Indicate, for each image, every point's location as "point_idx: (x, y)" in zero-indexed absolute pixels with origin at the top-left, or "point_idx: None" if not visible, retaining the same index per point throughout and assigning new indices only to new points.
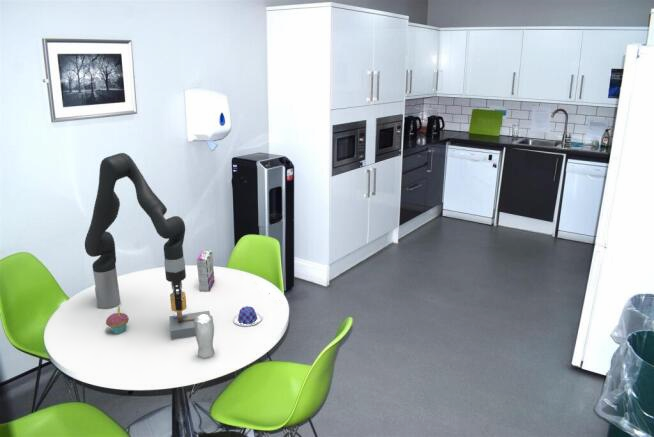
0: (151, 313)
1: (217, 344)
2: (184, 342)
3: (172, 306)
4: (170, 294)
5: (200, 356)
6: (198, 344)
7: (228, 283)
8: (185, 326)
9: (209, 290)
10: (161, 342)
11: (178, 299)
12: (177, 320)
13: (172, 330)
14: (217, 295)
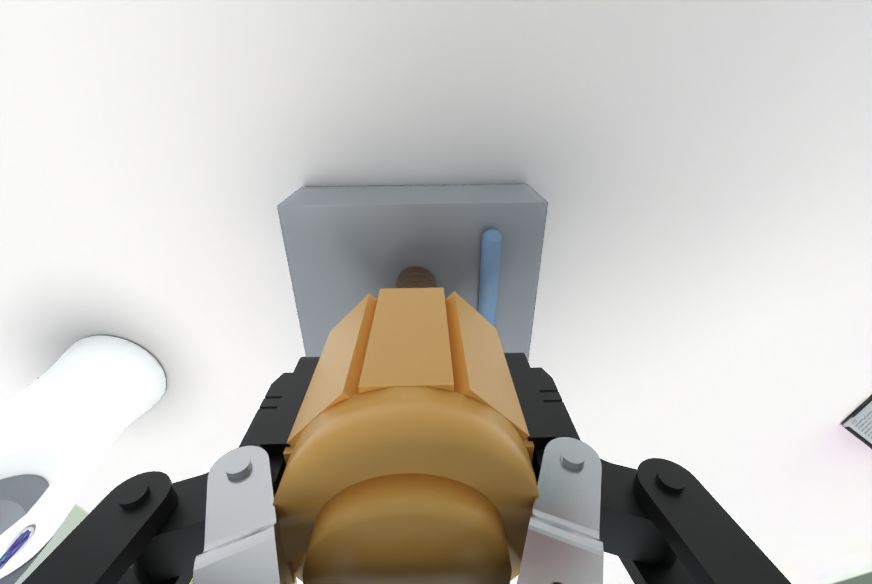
0: (811, 19)
1: (219, 423)
2: (258, 269)
3: (348, 338)
4: (449, 446)
5: (65, 351)
6: (8, 398)
7: (856, 502)
8: (332, 318)
9: (847, 429)
10: (276, 109)
11: (156, 564)
12: (448, 265)
13: (282, 222)
14: (760, 454)
